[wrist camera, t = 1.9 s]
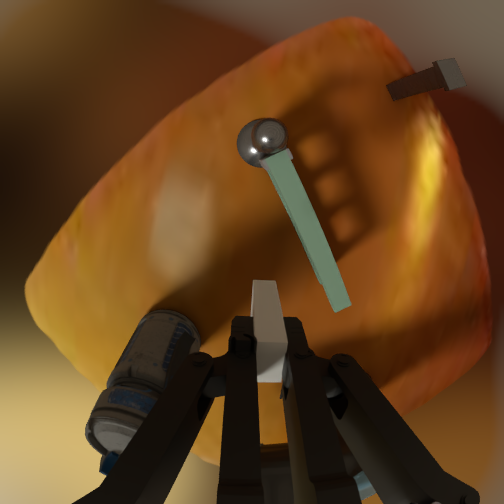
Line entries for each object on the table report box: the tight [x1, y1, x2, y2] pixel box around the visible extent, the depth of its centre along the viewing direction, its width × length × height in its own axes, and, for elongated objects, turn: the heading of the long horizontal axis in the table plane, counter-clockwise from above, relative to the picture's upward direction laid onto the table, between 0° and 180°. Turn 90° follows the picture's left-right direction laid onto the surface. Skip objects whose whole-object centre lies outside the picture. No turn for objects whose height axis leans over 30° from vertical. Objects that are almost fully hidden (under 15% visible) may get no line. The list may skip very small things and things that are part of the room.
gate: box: [259, 148, 351, 313], centre depth 30 cm, size 17×3×9 cm, turn 27°
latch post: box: [386, 58, 467, 101], centre depth 23 cm, size 3×3×13 cm
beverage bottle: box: [85, 310, 201, 476], centre depth 29 cm, size 10×13×25 cm
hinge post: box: [237, 118, 288, 167], centre depth 25 cm, size 6×6×15 cm
